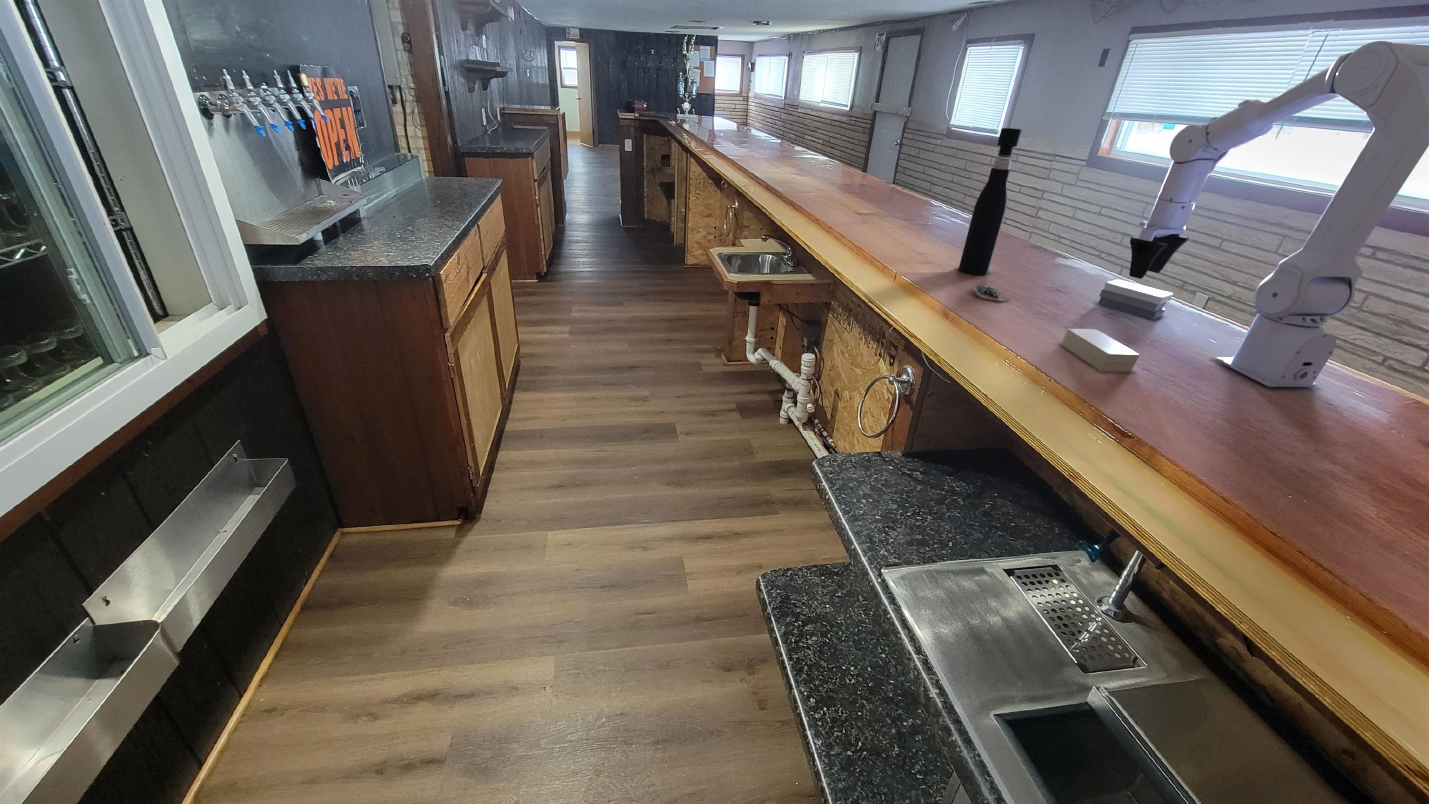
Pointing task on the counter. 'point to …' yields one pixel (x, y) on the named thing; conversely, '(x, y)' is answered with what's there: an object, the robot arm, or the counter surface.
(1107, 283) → the white book
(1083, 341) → the cream rectangular block
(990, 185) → the wine bottle
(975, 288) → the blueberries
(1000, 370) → the counter surface
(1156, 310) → the grey books
